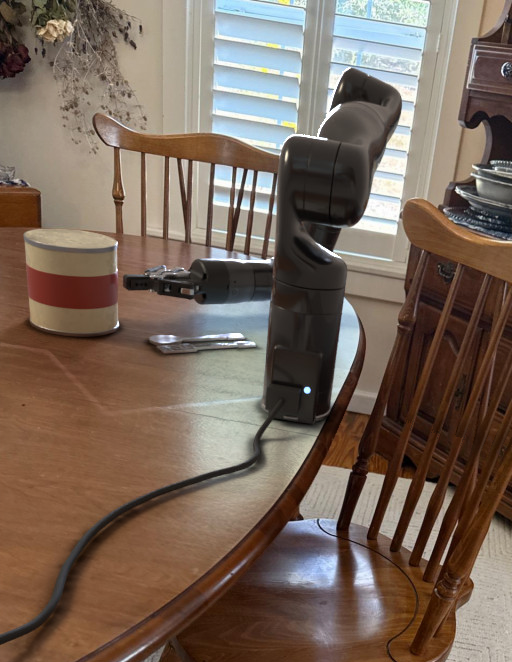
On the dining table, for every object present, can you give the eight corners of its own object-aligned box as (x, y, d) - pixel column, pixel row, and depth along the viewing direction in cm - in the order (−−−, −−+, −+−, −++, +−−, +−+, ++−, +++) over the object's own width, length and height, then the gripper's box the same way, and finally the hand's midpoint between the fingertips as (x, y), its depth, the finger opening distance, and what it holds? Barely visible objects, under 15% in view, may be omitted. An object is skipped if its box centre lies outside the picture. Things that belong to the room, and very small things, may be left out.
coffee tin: (109, 341, 117) (107, 252, 111) (18, 330, 115) (11, 240, 109) (125, 317, 129) (124, 236, 122) (43, 307, 127) (37, 224, 120)
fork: (249, 342, 127) (250, 339, 127) (257, 348, 125) (258, 345, 125) (156, 348, 118) (156, 345, 117) (163, 354, 116) (163, 350, 116)
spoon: (236, 334, 130) (236, 331, 130) (247, 341, 127) (248, 338, 127) (145, 338, 121) (145, 335, 121) (155, 346, 118) (155, 343, 118)
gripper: (206, 250, 137) (109, 248, 127) (241, 269, 128) (140, 269, 118) (204, 292, 140) (110, 294, 130) (238, 314, 132) (140, 317, 122)
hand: (124, 282), depth 124 cm, fingers closed
